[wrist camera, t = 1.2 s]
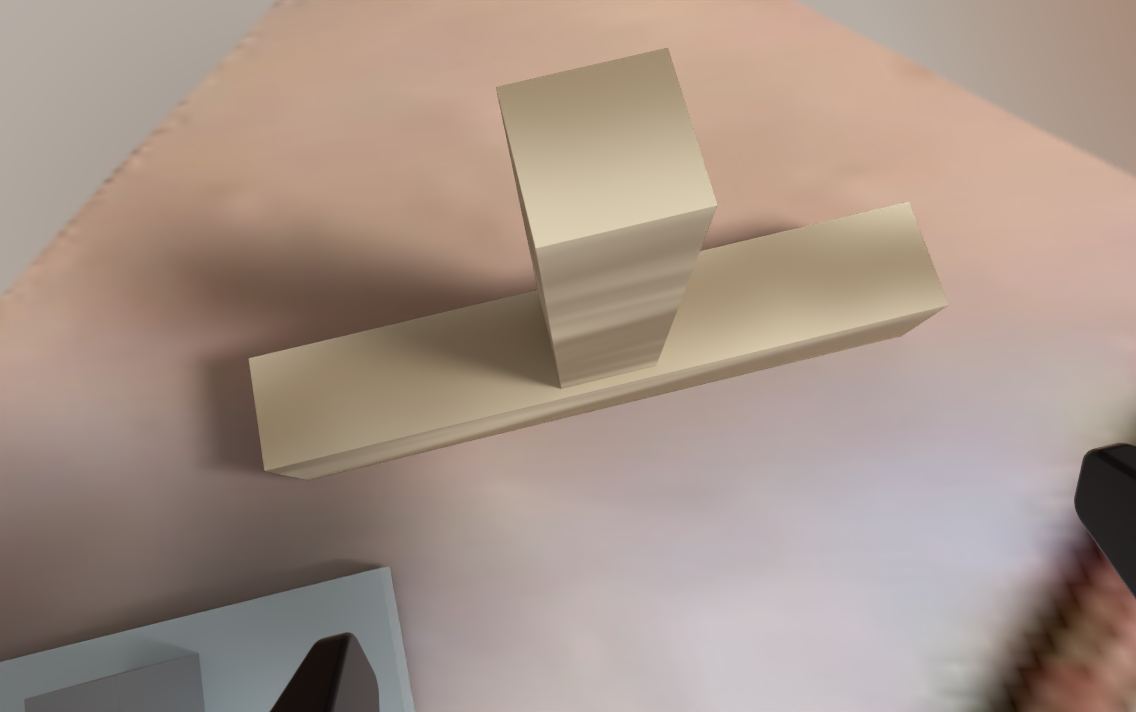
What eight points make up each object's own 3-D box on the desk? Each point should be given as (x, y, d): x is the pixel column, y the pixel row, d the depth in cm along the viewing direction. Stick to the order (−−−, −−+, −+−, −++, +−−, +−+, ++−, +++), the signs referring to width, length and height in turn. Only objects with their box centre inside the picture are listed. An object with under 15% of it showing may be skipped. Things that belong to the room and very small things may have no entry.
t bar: (902, 335, 22) (1272, 92, 10) (307, 480, 22) (-45, 404, 10) (868, 244, 23) (1177, -85, 11) (292, 382, 23) (-54, 196, 10)
